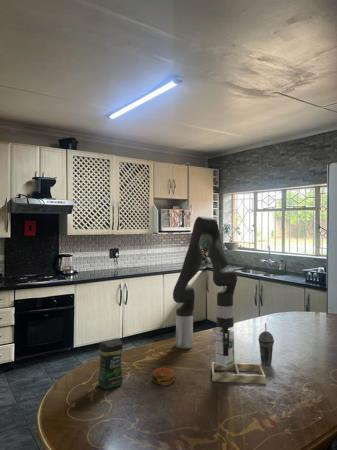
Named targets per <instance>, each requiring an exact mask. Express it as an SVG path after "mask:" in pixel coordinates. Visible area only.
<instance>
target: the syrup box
mask: <svg viewBox="0 0 337 450" xmlns="http://www.w3.org/2000/svg"><path fill="white" fill-rule="evenodd" d="M228 330H229V331H230V335H229V336H230V341H229V347H228V356H224V355H223V342H222V336H223V332H221V331H220V330H218V331H216V332H215V354H216V355H215V356H216V357H215V361H216V364H218V365H221V366H223V367H228V366H230V365H233V364H234V363H235V334H234V333H235V332H234V331H233V330H230V329H228ZM221 334H222V335H221ZM224 344H227V342H224Z"/></svg>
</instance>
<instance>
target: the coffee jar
mask: <svg viewBox="0 0 337 450" xmlns="http://www.w3.org/2000/svg"><path fill="white" fill-rule="evenodd" d="M123 347H124V346H123V341H122V340H121V339H120V338H118V337H117V338H113V339H108V340H101V341H100V342H99V347H98V352H99V356H100V358H99V359H100V361H99V362H100V363H99V372H98V373H99V374H98V380H97V381H98V386H99V387H100V388H101V389H105V390H109V389H114V388H117V387H120V386H122V384H123V382H124V381H123V370H122V369H123V367H122V353H123V350H124V348H123Z"/></svg>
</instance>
